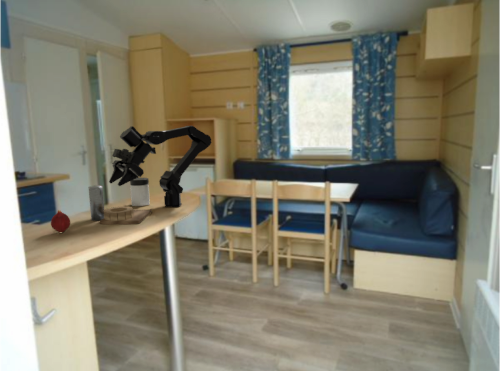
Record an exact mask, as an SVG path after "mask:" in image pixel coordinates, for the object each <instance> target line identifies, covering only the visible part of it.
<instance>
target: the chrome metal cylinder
mask: <svg viewBox="0 0 500 371" xmlns="http://www.w3.org/2000/svg"><path fill="white" fill-rule="evenodd" d="M88 198H89V210H90V220H91V221H94V222H95V221H96V222H97V221H99V222H100V220H102V219H104V210H105V200H104V187H103V185H97V184H95V185H89V186H88Z"/></svg>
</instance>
